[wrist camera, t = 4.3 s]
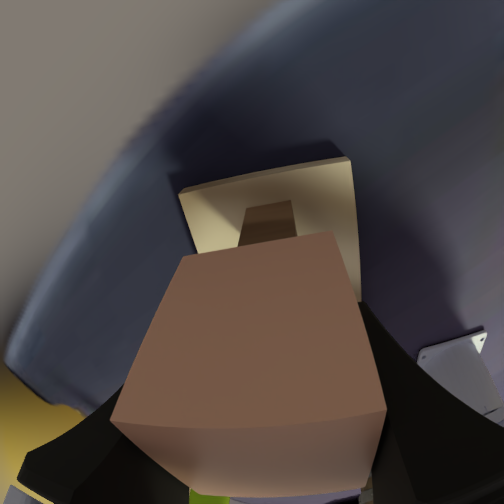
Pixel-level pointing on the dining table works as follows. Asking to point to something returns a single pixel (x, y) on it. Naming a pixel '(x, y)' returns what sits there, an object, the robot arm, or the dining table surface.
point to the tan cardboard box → (258, 374)
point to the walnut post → (268, 223)
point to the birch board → (277, 190)
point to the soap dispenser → (207, 499)
